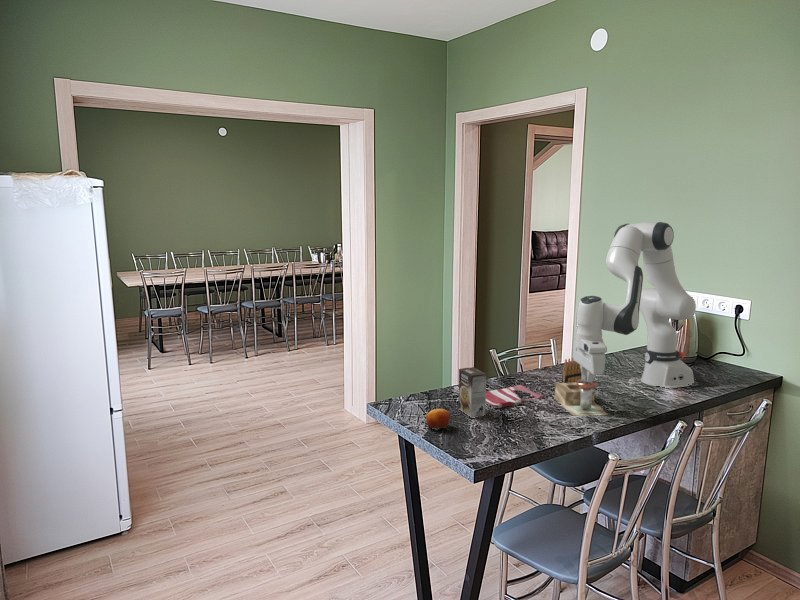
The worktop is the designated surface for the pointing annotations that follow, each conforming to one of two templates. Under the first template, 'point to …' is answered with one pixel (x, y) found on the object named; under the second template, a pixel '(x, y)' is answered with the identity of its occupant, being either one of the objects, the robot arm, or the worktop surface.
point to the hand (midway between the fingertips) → (586, 379)
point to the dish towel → (508, 396)
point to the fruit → (438, 418)
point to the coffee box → (472, 391)
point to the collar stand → (575, 400)
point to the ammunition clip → (571, 372)
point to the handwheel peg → (585, 391)
